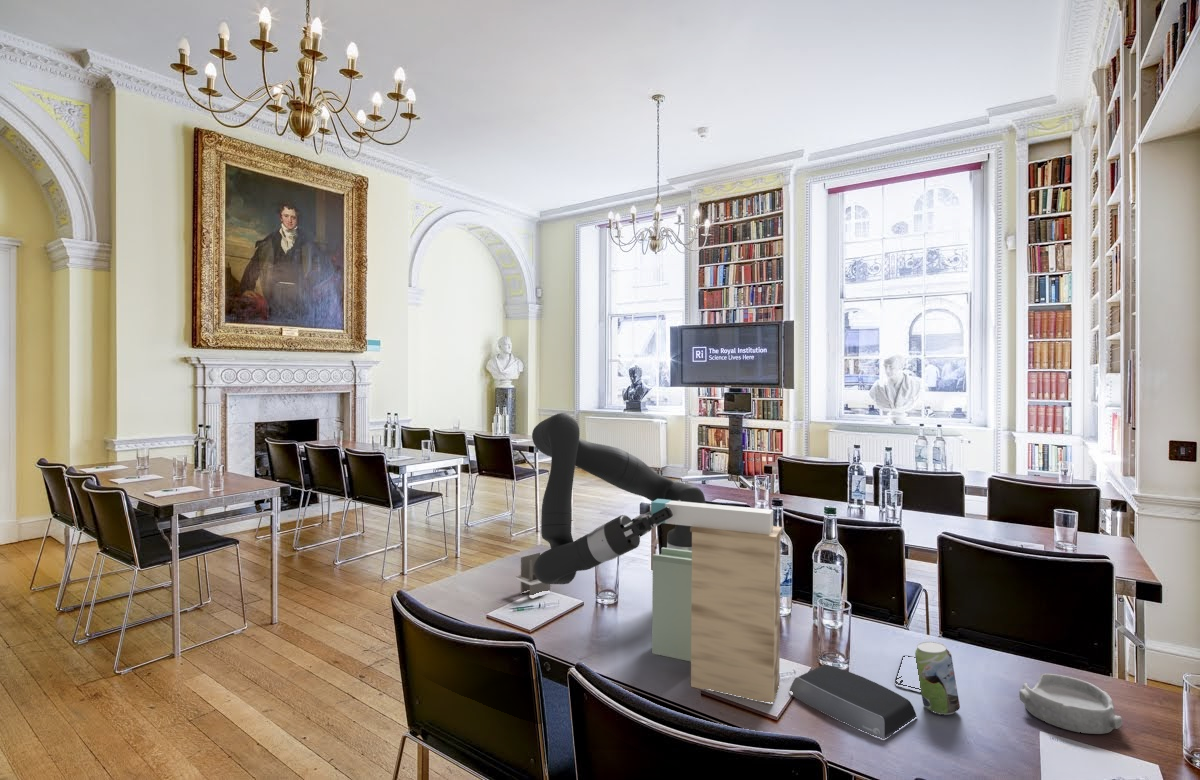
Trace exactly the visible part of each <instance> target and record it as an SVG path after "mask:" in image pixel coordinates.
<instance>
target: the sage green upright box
mask: <svg viewBox="0 0 1200 780" xmlns="http://www.w3.org/2000/svg"><path fill="white" fill-rule="evenodd" d="M660 550H661V551H660V552H661V553H660V554H657V553H653V554H652V604H651V605H652V606H651V607H652V608H651V609H652V615H651V616H652V619H651V622H652V625H651V626H652V629H651V630H652V634H651V639H652V640H651V651H652V652H651V654H652V655H658V656H664V657H668V658H673V659H677V660H681V661H683V660H684V661H687V662H691V604H692V551H688V550H680V549H672V548H667V547H664V546H663V547H661V549H660Z"/></svg>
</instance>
